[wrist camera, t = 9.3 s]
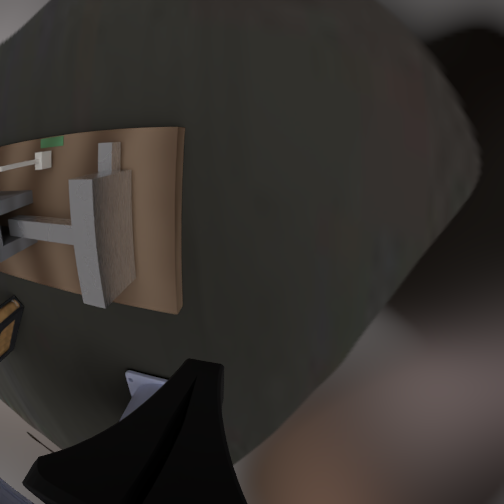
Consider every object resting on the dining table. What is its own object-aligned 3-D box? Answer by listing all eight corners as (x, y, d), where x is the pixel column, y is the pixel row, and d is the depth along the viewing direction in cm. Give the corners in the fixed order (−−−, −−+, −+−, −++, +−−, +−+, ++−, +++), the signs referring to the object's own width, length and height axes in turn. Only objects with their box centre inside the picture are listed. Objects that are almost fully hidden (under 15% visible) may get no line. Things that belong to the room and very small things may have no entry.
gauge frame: (184, 127, 16) (135, 122, 10) (182, 305, 20) (149, 361, 14) (-24, 153, 18) (-68, 164, 12) (-12, 261, 22) (-49, 284, 16)
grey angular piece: (132, 141, 15) (92, 143, 11) (136, 277, 18) (105, 308, 14) (27, 151, 16) (-11, 158, 12) (37, 259, 19) (5, 279, 15)
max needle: (51, 150, 16) (3, 158, 11) (51, 167, 16) (3, 178, 12) (44, 151, 16) (-3, 159, 11) (44, 167, 16) (-3, 179, 12)
